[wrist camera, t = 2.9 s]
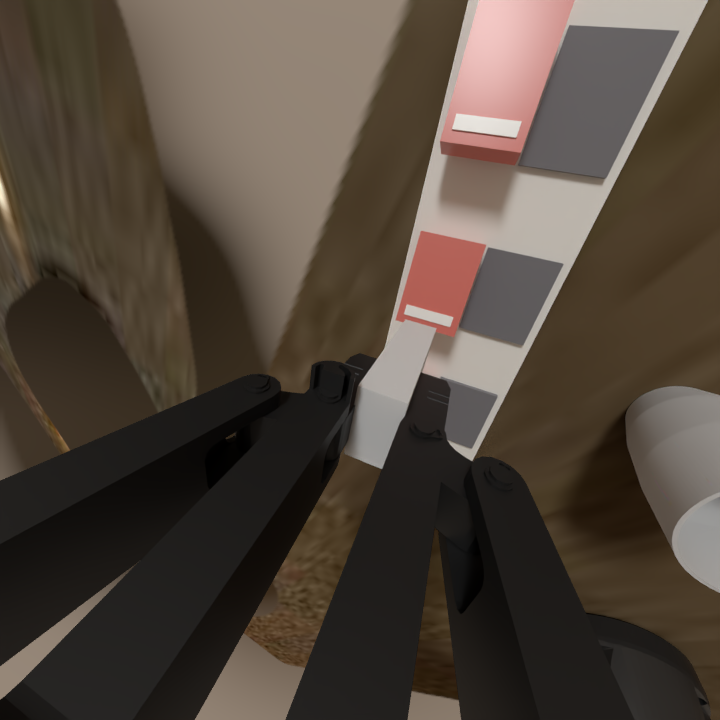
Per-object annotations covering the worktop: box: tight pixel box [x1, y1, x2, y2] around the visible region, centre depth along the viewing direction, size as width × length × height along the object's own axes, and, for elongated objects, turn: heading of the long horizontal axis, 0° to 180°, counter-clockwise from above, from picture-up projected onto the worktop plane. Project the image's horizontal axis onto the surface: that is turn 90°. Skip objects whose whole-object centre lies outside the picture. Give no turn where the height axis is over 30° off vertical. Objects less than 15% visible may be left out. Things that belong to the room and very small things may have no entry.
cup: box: [625, 386, 720, 593], centre depth 17 cm, size 8×8×10 cm
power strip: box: [385, 0, 708, 461], centre depth 21 cm, size 34×9×4 cm, turn 169°
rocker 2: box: [440, 0, 575, 165], centre depth 13 cm, size 5×4×2 cm
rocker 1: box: [396, 231, 486, 337], centre depth 17 cm, size 5×4×2 cm
